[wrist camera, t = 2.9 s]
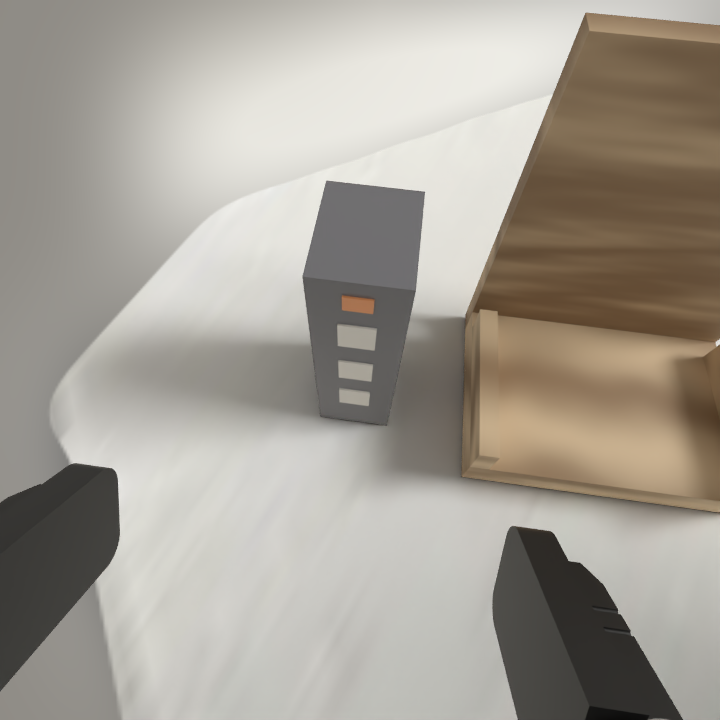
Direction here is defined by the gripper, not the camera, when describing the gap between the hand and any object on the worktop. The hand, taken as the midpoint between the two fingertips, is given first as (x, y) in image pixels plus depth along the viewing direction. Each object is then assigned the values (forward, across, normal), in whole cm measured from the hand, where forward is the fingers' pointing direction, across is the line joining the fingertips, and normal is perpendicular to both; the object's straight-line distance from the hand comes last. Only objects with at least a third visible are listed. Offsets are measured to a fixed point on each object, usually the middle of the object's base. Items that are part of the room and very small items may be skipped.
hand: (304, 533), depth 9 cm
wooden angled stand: (+19, -14, +3) cm, 24 cm away
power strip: (+19, 0, +3) cm, 19 cm away
